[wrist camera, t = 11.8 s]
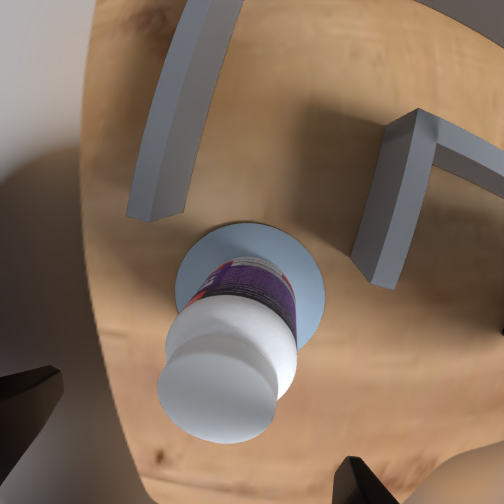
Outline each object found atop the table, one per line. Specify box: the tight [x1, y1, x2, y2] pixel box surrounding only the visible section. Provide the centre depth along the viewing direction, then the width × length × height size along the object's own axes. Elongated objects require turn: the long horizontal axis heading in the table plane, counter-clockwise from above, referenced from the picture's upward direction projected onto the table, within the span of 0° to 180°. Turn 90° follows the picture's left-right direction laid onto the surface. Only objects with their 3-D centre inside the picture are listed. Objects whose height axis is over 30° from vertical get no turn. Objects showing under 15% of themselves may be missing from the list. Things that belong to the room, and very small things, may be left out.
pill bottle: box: [158, 257, 297, 443], centre depth 14 cm, size 5×5×10 cm
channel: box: [126, 0, 504, 290], centre depth 14 cm, size 21×19×5 cm
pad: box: [175, 223, 325, 351], centre depth 19 cm, size 9×9×1 cm
